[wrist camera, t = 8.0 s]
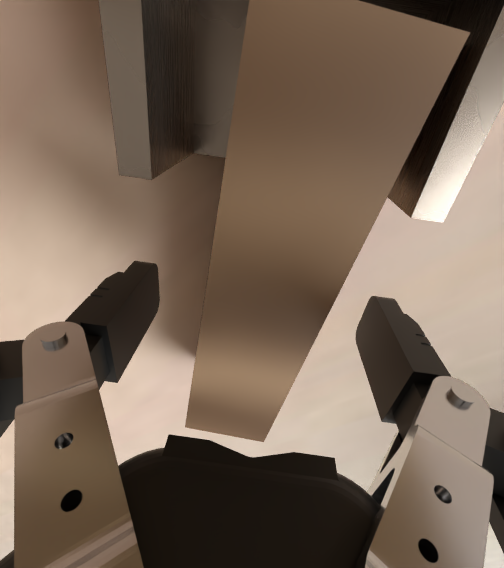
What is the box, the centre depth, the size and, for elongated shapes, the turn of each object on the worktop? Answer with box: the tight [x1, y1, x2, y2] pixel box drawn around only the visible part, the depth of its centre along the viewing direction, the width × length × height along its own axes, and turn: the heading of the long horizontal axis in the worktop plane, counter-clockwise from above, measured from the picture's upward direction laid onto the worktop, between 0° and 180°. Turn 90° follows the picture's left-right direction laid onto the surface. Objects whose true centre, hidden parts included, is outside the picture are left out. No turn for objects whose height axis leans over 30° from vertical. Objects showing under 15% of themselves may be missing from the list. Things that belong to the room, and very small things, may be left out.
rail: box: [185, 0, 470, 442], centre depth 11 cm, size 16×4×4 cm, turn 168°
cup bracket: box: [99, 0, 504, 223], centre depth 7 cm, size 5×8×7 cm, turn 83°
